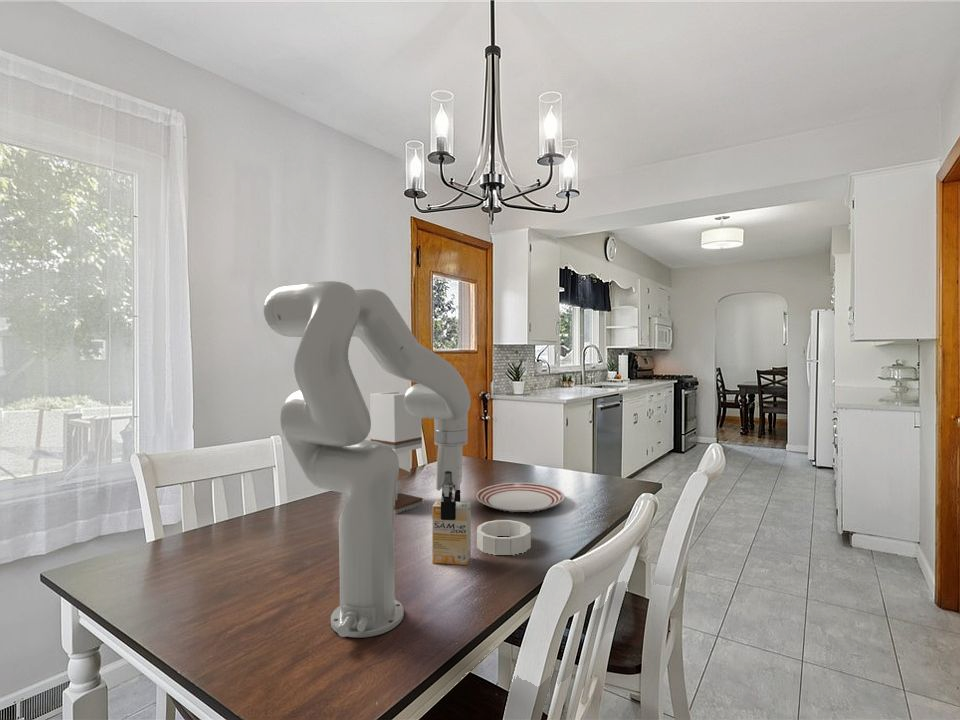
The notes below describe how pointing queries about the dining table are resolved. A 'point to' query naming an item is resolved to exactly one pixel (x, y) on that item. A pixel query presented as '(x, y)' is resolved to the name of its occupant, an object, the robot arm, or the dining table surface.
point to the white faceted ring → (503, 545)
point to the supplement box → (451, 535)
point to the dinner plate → (520, 497)
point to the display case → (396, 438)
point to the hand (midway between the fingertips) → (451, 512)
